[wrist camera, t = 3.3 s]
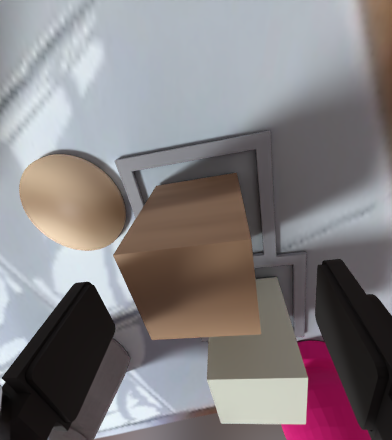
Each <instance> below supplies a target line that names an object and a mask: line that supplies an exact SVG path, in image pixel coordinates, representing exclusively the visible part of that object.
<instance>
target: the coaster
mask: <svg viewBox="0 0 392 440" xmlns="http://www.w3.org/2000/svg"><path fill="white" fill-rule="evenodd" d="M19 192H20V199H21V202H22V205H23V208H24V210H25V212H26V214H27V216H28V217H29V218H30V220H31V221H32V222H33V224H34V225H35V226H36V227H37V228H38V229H39V230H40V231H41V232H42V233H43V234H45V235H46V236H47V237H49V238H50V239H52V240H53V241H55V242H57V243H59V244H61V245H63V246H66V247H69V248H72V249H76V250H85V251H89V250H97V249H101V248H104V247H106V246H108V245H110V244H111V243H113V242H114V241H115V240H116V239H117V237H118V236H119V235H120V233H121V232H122V229H123V227H124V224H125V220H126V208H125V203H124V200H123V197H122V195H121V193H120V191H119V189H118V188H117V186H116V184H115V183H114V182H113V181H112V179H111V178H110V177H109V176H108V175H107V174H106V173H105V172H104V171H102V170H101V169H100V168H99V167H97V166H96V165H94V164H92V163H91V162H89V161H87V160H84V159H82V158H80V157H76V156H73V155H66V154H54V155H49V156H45V157H42V158H40V159H38V160H36V161H34V162H33V163H31V164H30V165H29V166H28V167H27V168H26V169H25V171H24V173H23V174H22V177H21V180H20V185H19Z"/></svg>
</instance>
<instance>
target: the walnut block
mask: <svg viewBox="0 0 392 440" xmlns="http://www.w3.org/2000/svg"><path fill="white" fill-rule="evenodd" d="M113 256H114V258H115V261H116V263H117V265H118V267H119V269H120V271H121V274H122V276H123V278H124V280H125V282H126V285H127V287H128V289H129V291H130V293H131V296H132V298H133V300H134V302H135V304H136V306H137V309H138V311H139V313H140V315H141V317H142V320H143V322H144V324H145V326H146V328H147V331H148V333H149V335H150V337H151V339H152V340H160V339H180V338H199V337H219V336H239V335H259V334H261V327H260V318H259V308H258V299H257V289H256V280H255V271H254V261H253V252H252V242H251V236H250V231H249V227H248V222H247V218H246V213H245V208H244V204H243V199H242V195H241V190H240V185H239V181H238V176H237V173H231V174H225V175H219V176H213V177H207V178H201V179H195V180H189V181H183V182H177V183H171V184H165V185H158V186H156V187H155V189H154V190H153V192H152V194H151V195H150V197H149V198H148V200H147V202H146V203H145V205H144V206H143V208H142V210H141V211H140V213H139V214H138V216H137V218H136V219H135V221H134V223H133V224H132V226H131V227H130V229H129V231H128V232H127V234H126V235H125V237H124V239H123V240H122V242H121V243H120V245H119V247H118V248H117V250H116V251H115V253H114V255H113Z"/></svg>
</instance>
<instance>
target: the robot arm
mask: <svg viewBox="0 0 392 440" xmlns="http://www.w3.org/2000/svg"><path fill="white" fill-rule="evenodd" d="M315 317H316V321H317V324H318V327H319V329H320V332H321V334H322V336H323V339H324V341H325V344H326V346H327V349H328V351H329V354H330V356H331V358H332V361H333V363H334V366H335V368H336V371H337V373H338V375H339V378H340V380H341V383H342V385H343V388H344V390H345V393H346V395H347V397H348V400H349V402H350V405H351V407H352V410H353V412H354V414H355V417H356V419H357V422H358V424H359V426H360V427H361V429H363V430H368V433H369V435H370V437H371V440H392V316H391V314H390V313H389V312H388V310H387V309H386V308H385V306H384V305H383V304H382V302H381V301H380V300H379V299H378V298H377V297H376V296H375V295H373V294H367V295H366V293H365V292H364V290H363V289H362V288H361V286H360V285H359V283H358V282H357V281H356V279H355V278H354V276H353V275H352V274H351V272H350V271H349V269H348V268H347V267H346V265H345V264H344V262H343V261H342V260H341V259H335V260H324V261H323V262H322V265H318V268H317V287H316V308H315ZM114 333H115V324H114V322H113V320H112V318H111V316H110V314H109V312H108V311H107V309H106V307H105V305H104V303H103V301H102V299H101V297H100V295H99V293H98V292H97V290H96V288H95V286H94V285H92V284H91V283H90V282H81V283H75V284H74V285H73V286H72V287H71V288H70V290H69V291H68V292H67V294H66V295H65V296H64V298H63V299H62V300H61V301H60V303H59V304H58V305H57V307H56V308H55V309H54V311H53V312H52V313H51V314H50V316H49V317H48V318H47V320H46V321H45V322H44V324H43V325H42V326H41V327H40V329H39V330H38V331H37V333H36V334H35V335H34V337H33V338H32V339H31V340H30V342H29V343H28V344H27V346H26V347H25V348H24V350H23V351H22V352H21V353H20V355H19V356H18V357H17V359H16V360H15V361H14V363H13V364H12V365H11V367H10V368H9V369H8V370H7V372H6V373H5V374H4V376H3V377H2V379H3V380H4V381H5V384H4V385H3V387H2V386H1V385H0V440H49V435H50V433H51V431H52V429H54V430H55V431H68V430H69V428H70V426H71V423H72V421H74V420H75V419H76V418H77V416H78V414H79V412H80V410H81V407H82V405H83V403H84V401H85V398H86V396H87V394H88V392H89V389H90V387H91V385H92V383H93V380H94V378H95V376H96V374H97V371H98V369H99V367H100V365H101V362H102V360H103V358H104V356H105V353H106V351H107V349H108V347H109V344H110V342H111V340H112V338H113V335H114Z"/></svg>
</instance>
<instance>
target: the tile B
mask: <svg viewBox="0 0 392 440" xmlns="http://www.w3.org/2000/svg"><path fill="white" fill-rule="evenodd" d="M276 258H277V263H273V262H272V263H270V264H260V265H254V268H263V267H273V266H283V265H293V313H294V328H293V331H294V334H295V337H304V328H305V294H306V259H307V254H306V252H296V253H287V254H277V255H276ZM201 340H202V342H206V341H209V337H201Z"/></svg>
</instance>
